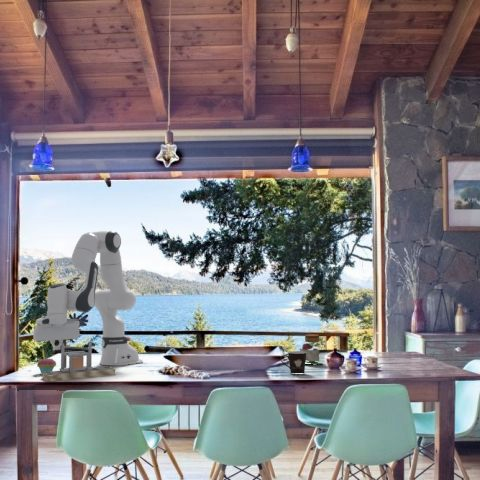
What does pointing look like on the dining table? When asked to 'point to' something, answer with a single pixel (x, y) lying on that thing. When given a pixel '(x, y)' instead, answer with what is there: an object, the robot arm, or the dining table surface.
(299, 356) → the coffee mug
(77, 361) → the sled
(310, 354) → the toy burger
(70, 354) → the tunnel
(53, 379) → the board
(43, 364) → the cupcake
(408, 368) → the dining table surface
